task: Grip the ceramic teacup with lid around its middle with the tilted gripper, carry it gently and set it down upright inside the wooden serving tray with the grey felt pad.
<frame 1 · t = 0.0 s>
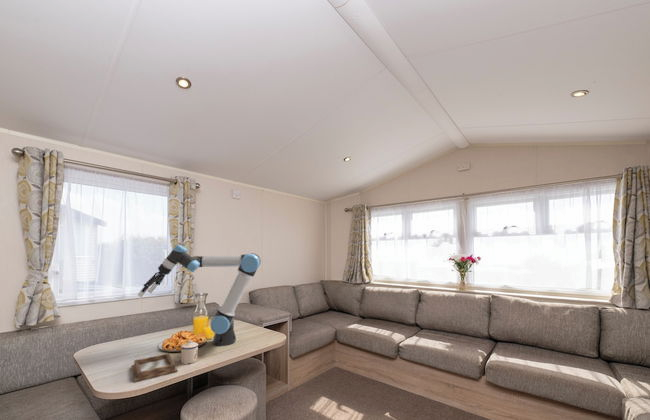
hand: (144, 294, 186), 36 cm above the table, tool tilted 35°, fingers open, 13 cm apart
wooden serving tray: (154, 369, 158), on the table
teacup with lid: (188, 360, 171), on the table
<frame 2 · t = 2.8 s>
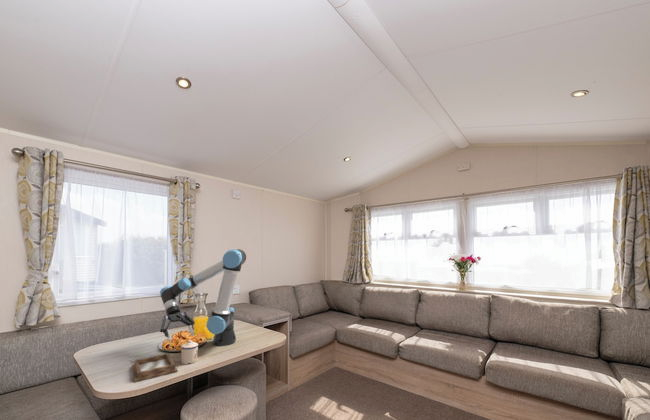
hand: (182, 338, 176), 11 cm above the table, tool tilted 45°, fingers open, 13 cm apart
nothing on the table moved.
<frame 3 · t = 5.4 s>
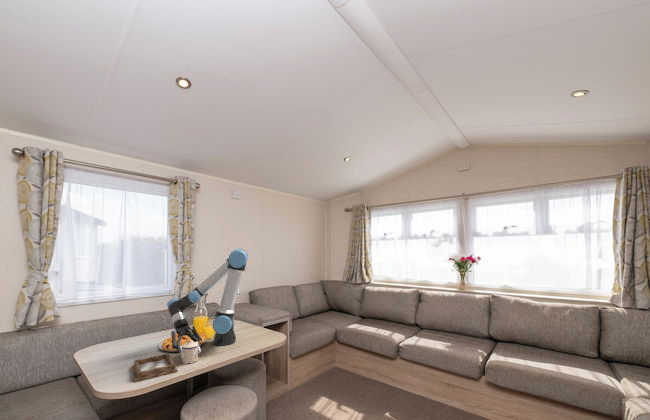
hand: (191, 354, 169), 4 cm above the table, tool tilted 45°, fingers closed on teacup with lid, 9 cm apart
teacup with lid: (189, 360, 171), on the table, touching gripper
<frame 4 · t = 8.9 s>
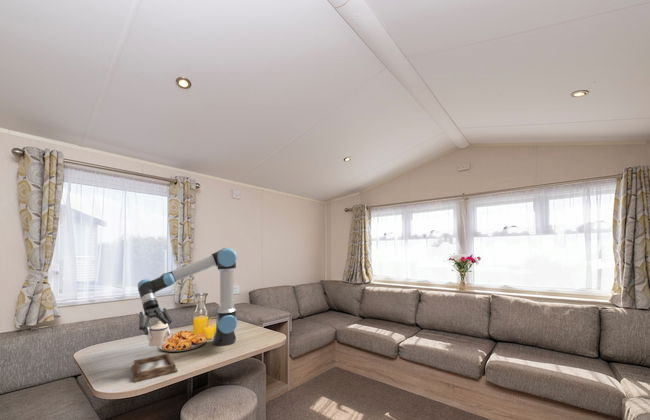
hand: (159, 337, 159), 17 cm above the table, tool tilted 45°, fingers closed on teacup with lid, 9 cm apart
teacup with lid: (158, 343, 161), point 13 cm above the table, touching gripper
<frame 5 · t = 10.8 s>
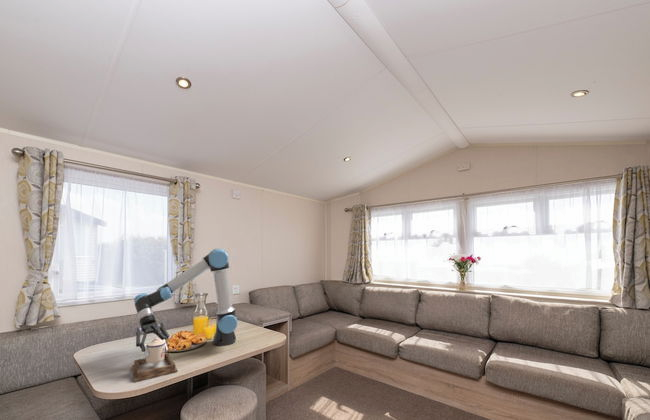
hand: (157, 353, 157), 9 cm above the table, tool tilted 45°, fingers closed on teacup with lid, 9 cm apart
teacup with lid: (155, 359, 159), point 5 cm above the table, touching gripper
when the fingers open (7 cm above the table, at t = 12.3 s): teacup with lid drops 1 cm, resting on wooden serving tray.
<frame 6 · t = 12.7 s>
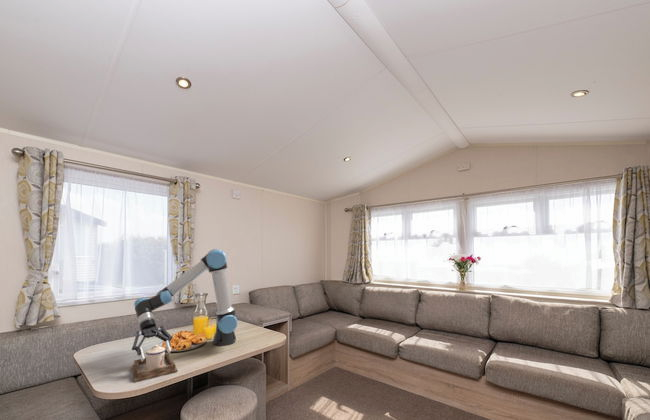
hand: (156, 355, 158), 8 cm above the table, tool tilted 45°, fingers open, 13 cm apart
teacup with lid: (154, 367, 159), point 1 cm above the table, touching wooden serving tray
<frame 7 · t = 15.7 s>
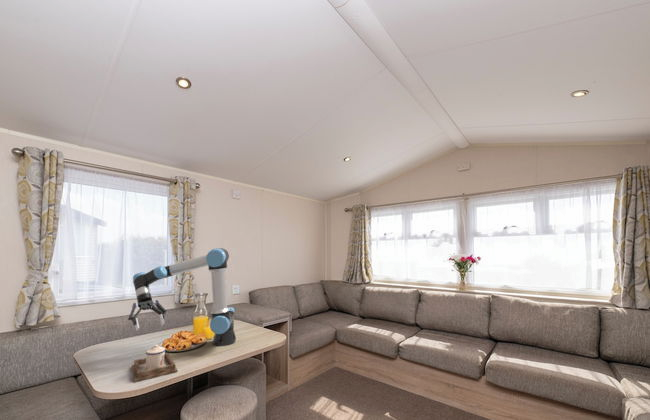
hand: (150, 327, 171), 19 cm above the table, tool tilted 40°, fingers open, 13 cm apart
nothing on the table moved.
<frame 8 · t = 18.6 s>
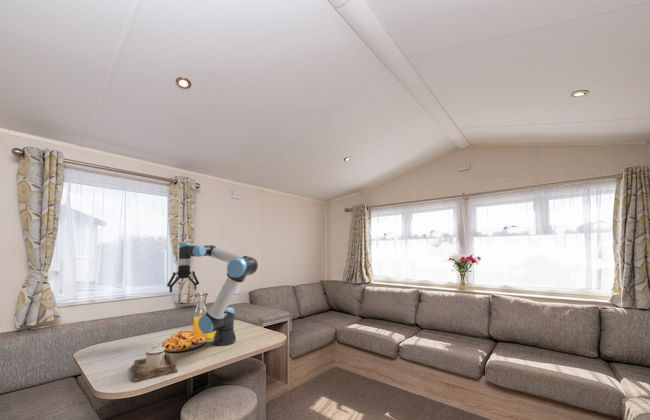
hand: (182, 295, 202), 32 cm above the table, tool pointing down, fingers open, 13 cm apart
nothing on the table moved.
at the end: teacup with lid inside the target area on the wooden serving tray (0.3 cm from its centre), point 1.3 cm above the wooden serving tray's base; teacup with lid tilted 0°; the gripper is holding nothing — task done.
